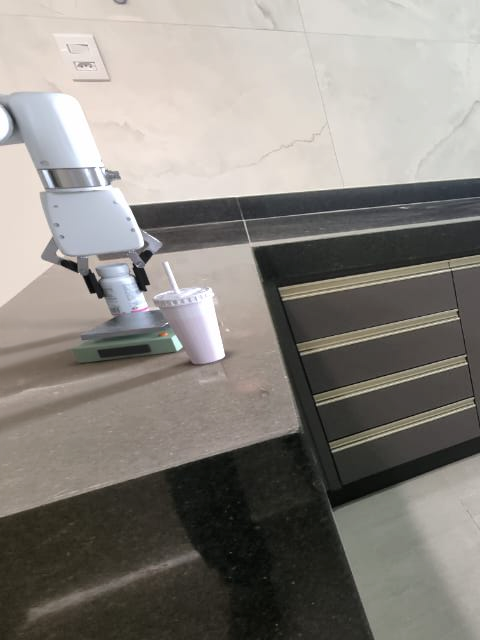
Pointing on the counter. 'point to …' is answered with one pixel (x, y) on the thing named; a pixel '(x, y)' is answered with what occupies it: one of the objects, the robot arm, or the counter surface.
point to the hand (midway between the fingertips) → (122, 292)
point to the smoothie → (192, 320)
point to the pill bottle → (120, 289)
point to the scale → (127, 346)
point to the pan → (129, 325)
